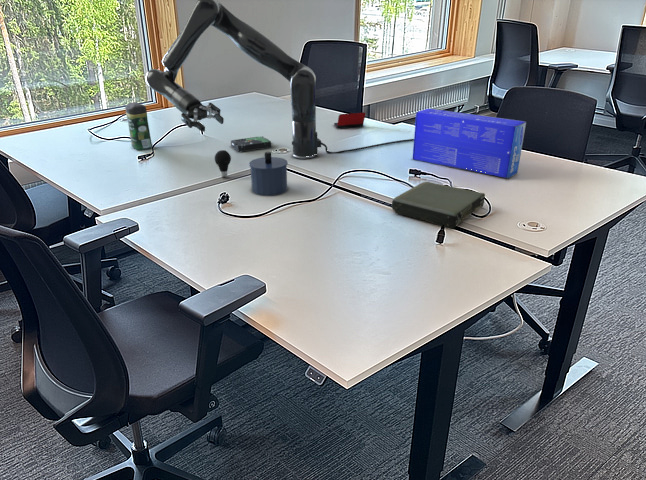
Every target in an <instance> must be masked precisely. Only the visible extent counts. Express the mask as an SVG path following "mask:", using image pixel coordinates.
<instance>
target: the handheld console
mask: <svg viewBox="0 0 646 480" xmlns="http://www.w3.org/2000/svg"><path fill="white" fill-rule="evenodd" d="M365 118H366V112H351V113H341V114H339V115H338V118H337V122H334V123H333V125H334V127H336V129H338V130H340V129H350V128H362V127H364V123H365Z"/></svg>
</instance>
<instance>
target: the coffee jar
mask: <svg viewBox="0 0 646 480" xmlns="http://www.w3.org/2000/svg"><path fill="white" fill-rule="evenodd" d="M125 115H126V120H127V126H128V131H129V132H128V133H129V139H130V144H131V147H132V148H133V149H134V150H138V151H139V150H143V151H144V150H149V149H150V148H153V144H152V139H151V137H152V136H151V131H150V125H149V120H148V110H147V107H146V105H144V104H142V103H139V102H138V101H135V102H128V103H127V104H126V105H125Z"/></svg>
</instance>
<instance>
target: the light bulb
mask: <svg viewBox="0 0 646 480" xmlns="http://www.w3.org/2000/svg"><path fill="white" fill-rule="evenodd" d="M231 161H232V157H231V154H230V153H229V151H227V150H224V149H223V150H219V151H217V152H216V153H215V155H214V162H215V164H216V165H217V167H218V169H219V172H220V176H221V177H222V178H223V179H224V178H225V179H226V177H228V175H229V173H228V171H229V165H230V164H231Z"/></svg>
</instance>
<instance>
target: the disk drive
mask: <svg viewBox="0 0 646 480" xmlns="http://www.w3.org/2000/svg"><path fill="white" fill-rule="evenodd" d="M230 146H231V147H232V148H233V149H234V150H235V151H237V152H240V153H242V152H248V151H256V150H264V149H267V148H268V149H269V148H272V141H271V140H269V139H268V138H266V137H264V136H253V137H246V138H238V139H232V140H230Z"/></svg>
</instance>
